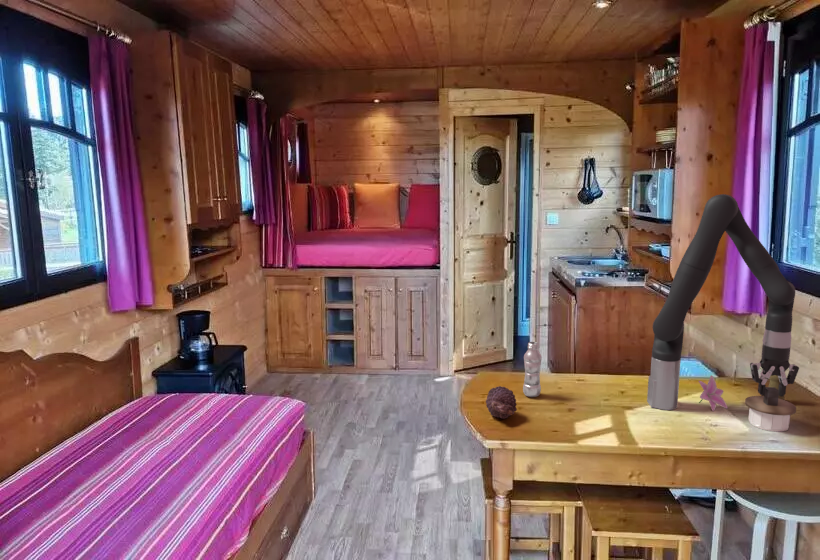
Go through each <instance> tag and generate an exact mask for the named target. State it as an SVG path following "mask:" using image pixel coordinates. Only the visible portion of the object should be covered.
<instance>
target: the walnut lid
mask: <svg viewBox="0 0 820 560" xmlns="http://www.w3.org/2000/svg"><path fill="white" fill-rule="evenodd" d="M778 397H779V390H777V389H776V388H775V387H769V386H766V388H765V396H761V395H751V396H748V397H746V398H745V401H744V404H745V406H746V407H748V408H749V409H750V408H751V409H753V410H756V411H759V412H762V413H766V414H772V415H790V416H791V415H795V414H796V412H797V406H796V405H795V404H794V403H792V402H790V401H787V400H782V399H778Z"/></svg>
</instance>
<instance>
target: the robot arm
mask: <svg viewBox="0 0 820 560" xmlns="http://www.w3.org/2000/svg"><path fill="white" fill-rule="evenodd" d="M704 205H705V206H704V208H703V212H702V215H701V219H700V222H699V224H698V227H697V229H696V232H695V234H694V237H693V238H692V239H691V241H690V243H689V245H688V247H687V249H686V250H685V252H684V254H683V256H682V258H681V260H680V262H679V264H678V267H677V269H676V271H675V274H674V277H673V280H672V282H671V285H670V290H669V293H668V295H667V298H666V300H665V302H664V304H663V306H662V308H661V310H660V311H659V313H658V314H657V316H656V317H655V318H654V320H653V323H652V331H653V334H654V335H653V345H652V350H651V361H650V363H651V364H650V375H648V378H647V379H648V382H647V394H646V395H647V397H646V402H647V404H649V406H650V408H655V409H658V410H659V409H660V410H664V411H665V410H667V411H668V410H670V411H671V410H676V409H677V408H678V401H679V389H680V388H679V386H680V372H681V364H682V363H681V361H682V360H681V359H682V352H683V345H684V343H683V342H684V332H685V320H686V317H687V315H688V312H689V309H690V308H691V306H692V304H693V301H695V299H696V297H697V296H698V294H699V293H700V291H701V290H702V288H703V286H704V284H705V282H706V280H707V278H708V276H709V273H710V272H711V269H712V268H713V267H712V266H713V264H714V262H715V258H716V255H717V250H718V246H719V244H720V241H721V239H722V237H723V235H724V233H726V234H727V235H728V237H729V238H730V240H731V241H732V242H733V244H734V246H735V248H736V250H737V251H738V253H739V255H740V257H741V258H742V260H743V261H744V263H745V265H746V266H747V267H748V269H749V270H750V272H751V273H752V274H753V276H754V277H755V278H756V279H757V281H758V282H759V285H760V286H761V288H762V290H763V291H764V293H765V295H766V296H767V298H768V307H767V313H766V318H765V326H764V333H763V338H762V345H761V346H762V347H761V359H760V361H759V362H757V363H754V362H750V363H749V366H750V372H751V378H752V381H754V382H755V383H758V386H757V387H758V388H757V393H759V396H765V388H766V387H767V385H766V383H767V382H768V380H770V379H769V378H770V376H773V375H776V376H778V377H779V381H780V384H779V388H778V390H779V396H780V397H783V396H784V397H785V395H786V392H787V386H788V385H793V384H794V383H795V381H796V378H797V375H798V373H799V370H800V367H799V366H798V365H796V364H794V363H792V364H791V363H790V357H791V347H792V330H793V329H792V327H793V309H794V305H795V297H796V287H795V286H794V284H793V283H792V282H791V281H788V280H787V278H786V277H785V276H784V275H783V273H782V272H781V271H780V268H779V266H778V264H777V262H776V261H775V259H774V258H773V257H772V255H771V254H770V252H769V251H768V250H767V249H766V247H765V246H764V245H763V244H762V242H761V241H760V240H759V238H758V237H757V235H755V233H754V231H753V230H752V229H751V228H750V226H749V225H748V223H747V221H746V220H745V217H744V215H743V214H742V212H741V209H740V207H739V204H738V201H737V200H736V198H734V197H733V196H731V195H729V194H725V193H723V194H722V193H721V194H716V195H714V196H712V197H710V198H709V199H708V200H707V201H706V203H705V204H704ZM760 367H761V369H762V370H761V372H760V375H759V370H760ZM788 370H789V371H788ZM786 371H788V373H787V375H786V373H785V372H786Z"/></svg>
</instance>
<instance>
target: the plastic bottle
mask: <svg viewBox="0 0 820 560" xmlns="http://www.w3.org/2000/svg"><path fill="white" fill-rule="evenodd" d="M542 358H543V357H542V355H541V353H540V351H539V343H538V342H537V341H529V342H528V343H527V350H526V352H525V353H524V355H523V362H524V363H523V364H524V381H523V386H522V391H523V394H524V395H525V396H526V397H529V398H536V397H539V396H540V395H541V391H542V387H541V380H540V379H541V378H540V377H541V376H540V374H541V373H540V372H541V365H542V360H543V359H542Z"/></svg>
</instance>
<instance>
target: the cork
mask: <svg viewBox="0 0 820 560" xmlns="http://www.w3.org/2000/svg"><path fill="white" fill-rule="evenodd" d="M768 380H769V384H768V387H775V388H776V389H777V390H778V388H779V384H780V381H779V377H778V376H776V375H773V376H770V378H769V379H768ZM785 397H786V396H785V395H784V396H783V397H780V396H779V397H778V399H782V400H785ZM785 401H786V400H785Z"/></svg>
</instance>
